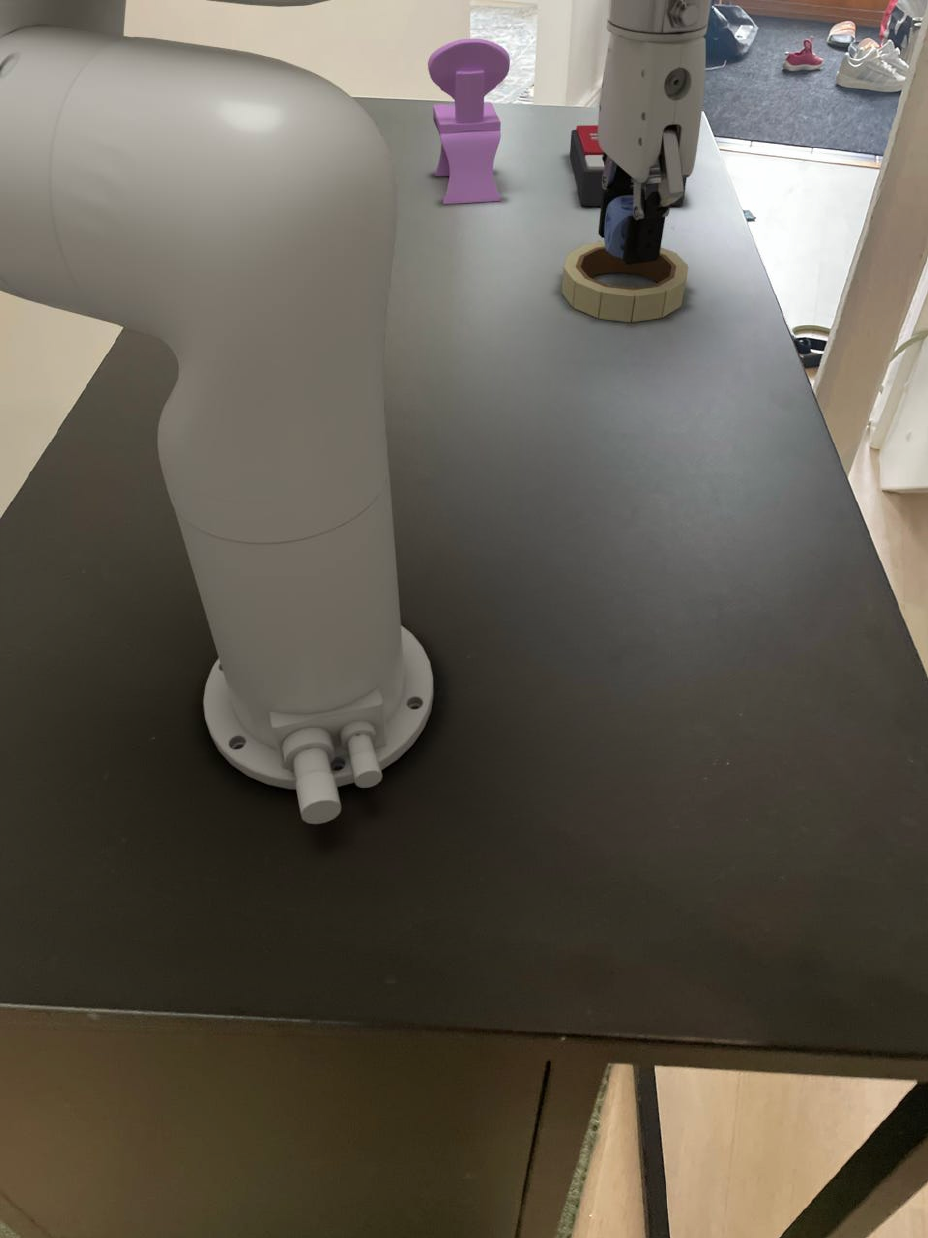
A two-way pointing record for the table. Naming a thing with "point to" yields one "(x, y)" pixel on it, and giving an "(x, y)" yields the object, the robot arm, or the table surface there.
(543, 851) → the table surface
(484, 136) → the toy chair
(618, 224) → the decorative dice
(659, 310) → the tape roll
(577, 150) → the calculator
